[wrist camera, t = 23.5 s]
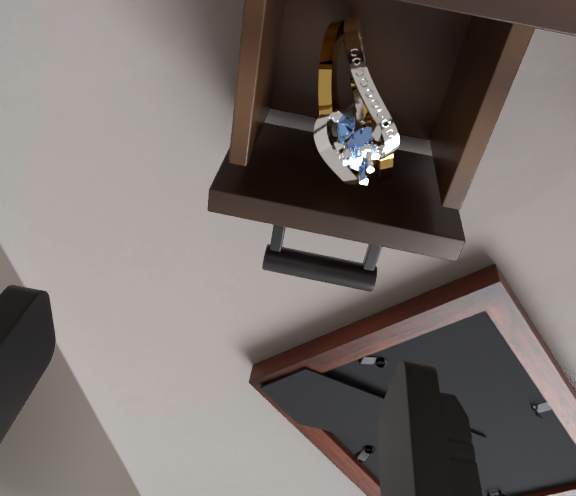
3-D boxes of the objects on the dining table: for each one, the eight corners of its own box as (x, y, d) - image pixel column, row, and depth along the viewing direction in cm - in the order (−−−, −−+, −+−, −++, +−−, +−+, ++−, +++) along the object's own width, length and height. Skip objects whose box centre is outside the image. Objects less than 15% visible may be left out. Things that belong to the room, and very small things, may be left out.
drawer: (414, 246, 33) (423, 337, 27) (233, 209, 34) (201, 291, 27) (545, -106, 22) (611, -88, 16) (274, -158, 22) (235, -161, 16)
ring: (398, 137, 28) (405, 221, 22) (336, 144, 29) (326, 227, 22) (388, -7, 24) (393, 45, 18) (317, 5, 25) (297, 59, 19)
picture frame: (252, 365, 43) (408, 518, 54) (248, 385, 42) (409, 539, 52) (495, 264, 34) (624, 470, 45) (501, 284, 33) (634, 493, 43)
